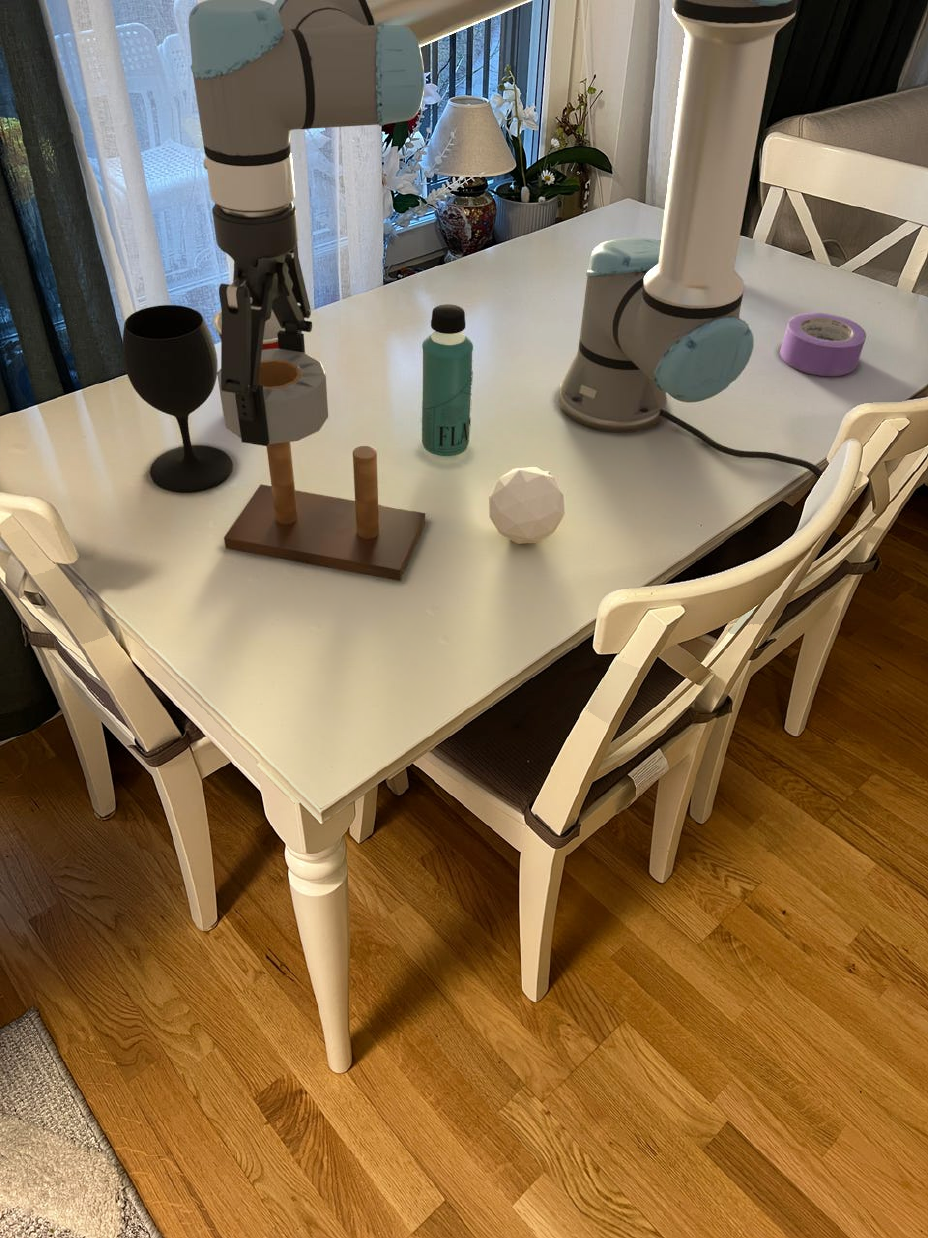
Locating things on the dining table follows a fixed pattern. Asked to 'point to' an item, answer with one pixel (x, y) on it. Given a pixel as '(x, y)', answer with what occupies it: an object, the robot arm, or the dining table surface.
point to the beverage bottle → (446, 383)
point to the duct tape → (285, 396)
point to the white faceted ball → (526, 505)
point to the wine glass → (176, 389)
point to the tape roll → (822, 344)
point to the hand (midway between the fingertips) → (276, 414)
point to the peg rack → (327, 522)
